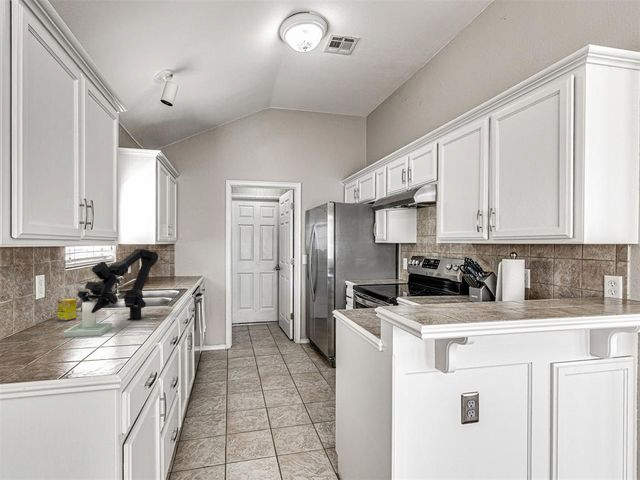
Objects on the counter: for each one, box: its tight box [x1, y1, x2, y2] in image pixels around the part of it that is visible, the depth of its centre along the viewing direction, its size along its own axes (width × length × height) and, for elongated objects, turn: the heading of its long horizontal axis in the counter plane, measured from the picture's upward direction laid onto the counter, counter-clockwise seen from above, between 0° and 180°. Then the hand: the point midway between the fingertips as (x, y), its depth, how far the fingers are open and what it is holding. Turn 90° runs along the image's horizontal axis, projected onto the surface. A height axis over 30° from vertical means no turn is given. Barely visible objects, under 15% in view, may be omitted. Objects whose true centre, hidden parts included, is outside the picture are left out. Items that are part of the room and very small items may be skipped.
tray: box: [62, 322, 113, 338], centre depth 167 cm, size 15×15×2 cm
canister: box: [81, 300, 97, 327], centre depth 167 cm, size 6×6×11 cm
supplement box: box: [57, 298, 77, 322], centre depth 191 cm, size 6×6×11 cm
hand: (86, 312), depth 166 cm, fingers closed on canister, 5 cm apart
